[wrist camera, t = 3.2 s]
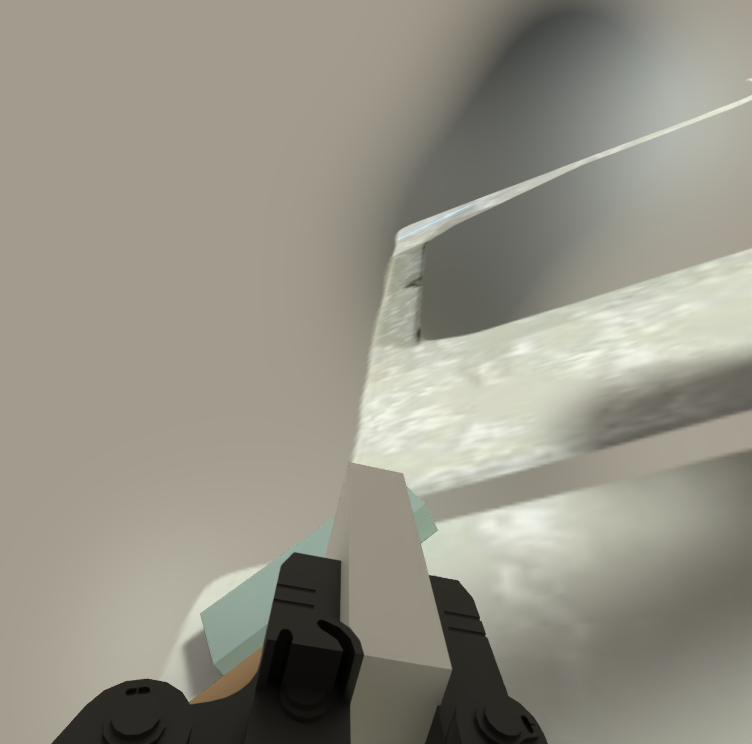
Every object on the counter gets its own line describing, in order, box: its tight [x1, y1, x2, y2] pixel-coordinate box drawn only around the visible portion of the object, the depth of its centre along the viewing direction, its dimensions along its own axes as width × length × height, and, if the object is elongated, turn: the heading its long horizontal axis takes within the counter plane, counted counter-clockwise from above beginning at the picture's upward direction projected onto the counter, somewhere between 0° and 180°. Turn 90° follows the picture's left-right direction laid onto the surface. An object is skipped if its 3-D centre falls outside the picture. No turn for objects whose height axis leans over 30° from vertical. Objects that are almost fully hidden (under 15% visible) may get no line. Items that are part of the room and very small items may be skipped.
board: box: [200, 486, 437, 675], centre depth 39 cm, size 5×18×3 cm, turn 120°
